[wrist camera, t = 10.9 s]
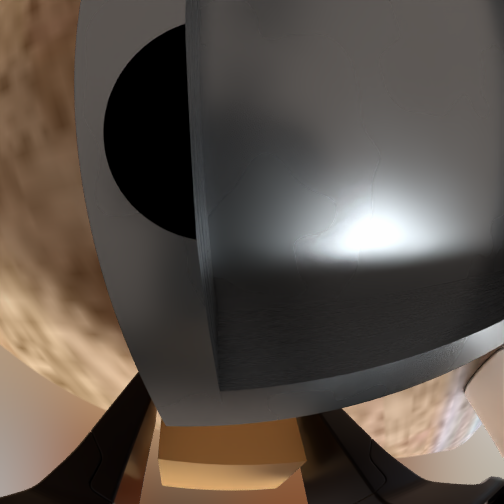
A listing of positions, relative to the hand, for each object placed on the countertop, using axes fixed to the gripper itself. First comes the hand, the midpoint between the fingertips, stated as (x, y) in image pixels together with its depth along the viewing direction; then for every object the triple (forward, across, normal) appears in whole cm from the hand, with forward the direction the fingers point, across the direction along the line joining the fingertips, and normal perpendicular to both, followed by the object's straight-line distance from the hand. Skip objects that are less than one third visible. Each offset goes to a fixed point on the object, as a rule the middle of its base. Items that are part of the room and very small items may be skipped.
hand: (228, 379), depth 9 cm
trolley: (+2, -1, -11) cm, 12 cm away
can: (+3, -26, +5) cm, 27 cm away
